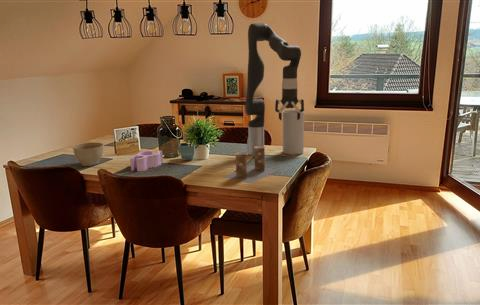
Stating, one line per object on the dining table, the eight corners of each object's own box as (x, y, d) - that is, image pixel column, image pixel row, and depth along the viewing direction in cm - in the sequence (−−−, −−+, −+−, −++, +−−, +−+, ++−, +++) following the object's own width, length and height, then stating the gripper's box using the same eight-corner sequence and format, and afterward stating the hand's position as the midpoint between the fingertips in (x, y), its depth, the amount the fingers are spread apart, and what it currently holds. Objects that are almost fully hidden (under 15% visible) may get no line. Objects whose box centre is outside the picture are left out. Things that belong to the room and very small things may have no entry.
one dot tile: (236, 178, 190) (235, 154, 187) (236, 175, 195) (236, 152, 192) (246, 178, 190) (246, 154, 187) (246, 175, 195) (246, 151, 192)
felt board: (222, 178, 194) (222, 176, 193) (251, 166, 213) (251, 165, 213) (250, 184, 184) (250, 183, 183) (278, 171, 203) (278, 169, 203)
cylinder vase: (279, 151, 243) (279, 111, 237) (296, 149, 248) (297, 109, 242) (289, 155, 232) (289, 113, 226) (307, 153, 237) (308, 112, 231)
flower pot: (180, 157, 234) (179, 142, 232) (195, 156, 235) (194, 142, 232) (179, 161, 225) (178, 146, 223) (195, 160, 226) (194, 145, 224)
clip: (144, 172, 206) (143, 159, 204) (125, 170, 211) (124, 157, 210) (166, 162, 224) (165, 151, 222) (148, 160, 229) (148, 149, 227)
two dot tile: (254, 171, 201) (254, 148, 198) (254, 168, 206) (254, 146, 203) (264, 171, 201) (264, 148, 198) (264, 168, 206) (264, 146, 203)
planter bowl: (68, 166, 219) (66, 147, 217) (88, 159, 234) (86, 141, 231) (92, 169, 214) (89, 149, 211) (111, 161, 229) (109, 143, 226)
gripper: (275, 88, 191) (275, 121, 195) (305, 88, 190) (304, 121, 194) (275, 87, 198) (274, 119, 202) (303, 86, 197) (302, 118, 201)
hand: (289, 120), depth 198 cm, fingers open, 8 cm apart
